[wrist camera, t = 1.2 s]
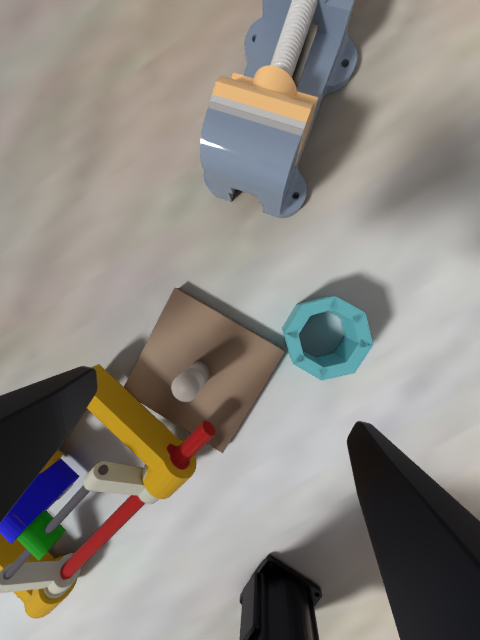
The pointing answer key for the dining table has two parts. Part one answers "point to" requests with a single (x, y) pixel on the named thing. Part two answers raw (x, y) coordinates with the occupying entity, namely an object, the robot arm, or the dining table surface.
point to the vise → (275, 103)
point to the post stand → (202, 368)
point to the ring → (348, 350)
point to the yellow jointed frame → (57, 478)
